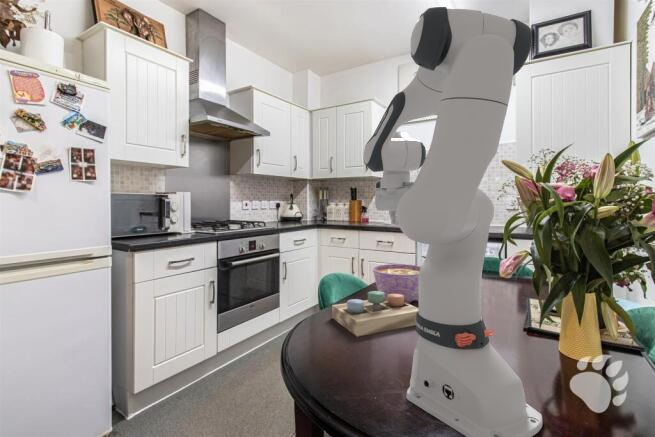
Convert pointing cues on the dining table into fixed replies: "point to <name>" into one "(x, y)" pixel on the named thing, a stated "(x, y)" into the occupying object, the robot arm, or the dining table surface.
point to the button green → (376, 299)
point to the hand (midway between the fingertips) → (395, 224)
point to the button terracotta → (395, 300)
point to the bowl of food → (398, 280)
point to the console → (375, 318)
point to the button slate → (355, 306)
